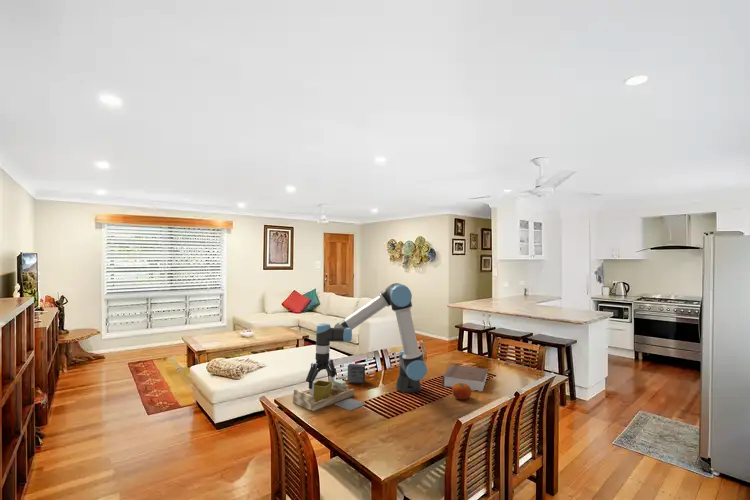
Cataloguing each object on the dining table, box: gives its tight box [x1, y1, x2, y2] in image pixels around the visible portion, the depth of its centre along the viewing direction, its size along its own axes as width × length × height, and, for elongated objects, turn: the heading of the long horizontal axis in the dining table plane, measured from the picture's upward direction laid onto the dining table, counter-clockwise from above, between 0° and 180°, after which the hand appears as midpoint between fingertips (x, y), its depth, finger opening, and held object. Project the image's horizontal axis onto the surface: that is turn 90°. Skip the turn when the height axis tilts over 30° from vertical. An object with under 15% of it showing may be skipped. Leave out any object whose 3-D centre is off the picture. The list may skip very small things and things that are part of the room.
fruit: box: [451, 383, 472, 400], centre depth 214 cm, size 11×10×8 cm
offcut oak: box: [332, 384, 349, 392], centre depth 217 cm, size 10×4×2 cm, turn 60°
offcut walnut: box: [330, 389, 349, 395], centre depth 217 cm, size 12×4×3 cm, turn 52°
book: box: [442, 364, 489, 392], centre depth 243 cm, size 24×28×6 cm
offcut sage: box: [333, 379, 347, 387], centre depth 217 cm, size 7×4×2 cm, turn 47°
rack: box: [292, 388, 355, 412], centre depth 209 cm, size 16×30×7 cm, turn 139°
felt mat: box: [333, 397, 367, 412], centre depth 202 cm, size 12×12×1 cm
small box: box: [346, 363, 366, 385], centre depth 239 cm, size 11×6×10 cm, turn 84°
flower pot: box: [313, 379, 332, 402], centre depth 208 cm, size 9×9×9 cm
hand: (321, 391), depth 208 cm, fingers open, 13 cm apart
